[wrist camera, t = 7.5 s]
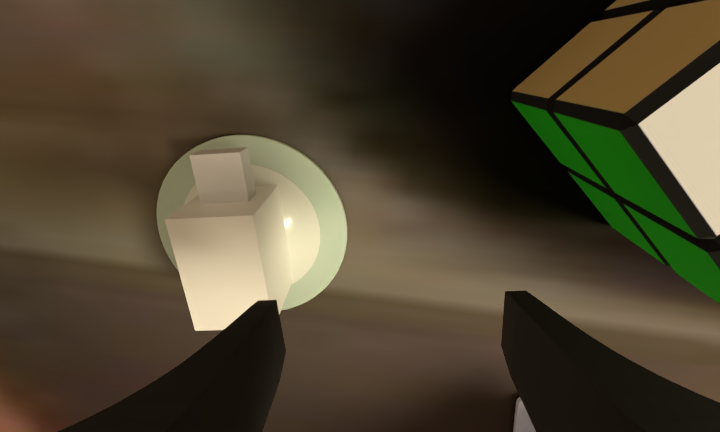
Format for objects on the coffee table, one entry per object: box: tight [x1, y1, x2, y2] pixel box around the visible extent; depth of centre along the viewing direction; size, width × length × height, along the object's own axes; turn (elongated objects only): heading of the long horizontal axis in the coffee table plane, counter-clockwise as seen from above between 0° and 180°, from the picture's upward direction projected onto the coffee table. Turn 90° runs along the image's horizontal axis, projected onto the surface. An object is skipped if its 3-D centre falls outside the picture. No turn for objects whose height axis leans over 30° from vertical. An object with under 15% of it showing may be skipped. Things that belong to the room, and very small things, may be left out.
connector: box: [165, 147, 293, 331], centre depth 20 cm, size 8×4×4 cm, turn 4°
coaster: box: [156, 134, 348, 310], centre depth 22 cm, size 11×11×1 cm
